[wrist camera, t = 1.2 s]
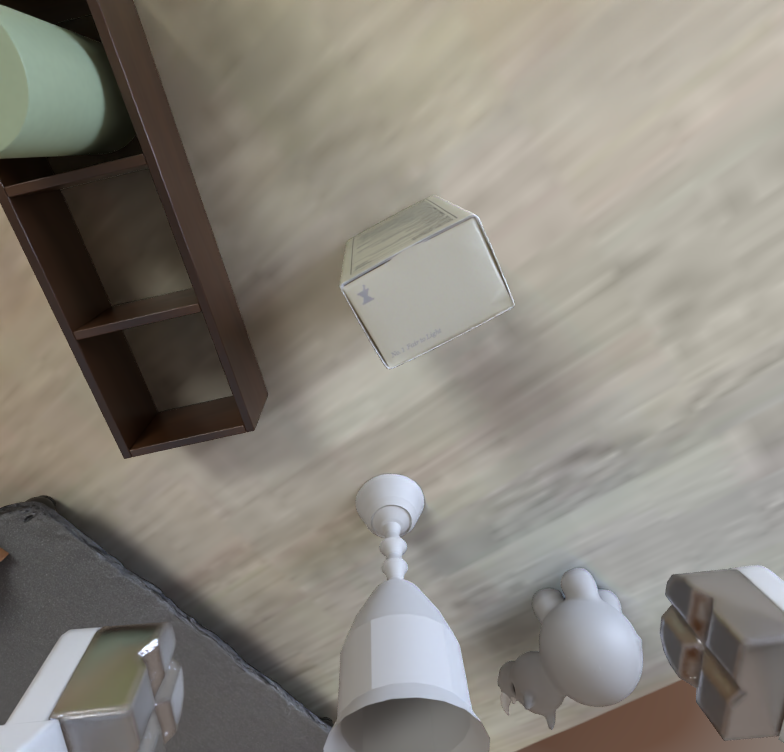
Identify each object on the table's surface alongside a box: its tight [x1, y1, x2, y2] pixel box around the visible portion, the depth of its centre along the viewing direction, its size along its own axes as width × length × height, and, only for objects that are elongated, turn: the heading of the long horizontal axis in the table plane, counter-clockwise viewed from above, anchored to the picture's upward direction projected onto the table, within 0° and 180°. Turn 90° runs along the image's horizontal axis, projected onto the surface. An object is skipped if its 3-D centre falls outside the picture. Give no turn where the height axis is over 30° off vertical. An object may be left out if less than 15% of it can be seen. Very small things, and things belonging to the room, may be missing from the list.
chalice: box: [323, 474, 490, 752], centre depth 32 cm, size 7×7×18 cm
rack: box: [0, 0, 268, 459], centre depth 30 cm, size 8×23×5 cm, turn 12°
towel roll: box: [0, 4, 136, 159], centre depth 24 cm, size 6×6×11 cm
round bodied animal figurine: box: [498, 568, 643, 730], centre depth 42 cm, size 7×12×8 cm, turn 132°
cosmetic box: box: [339, 195, 515, 369], centre depth 28 cm, size 6×4×12 cm
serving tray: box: [0, 495, 334, 752], centre depth 43 cm, size 39×23×6 cm, turn 37°
